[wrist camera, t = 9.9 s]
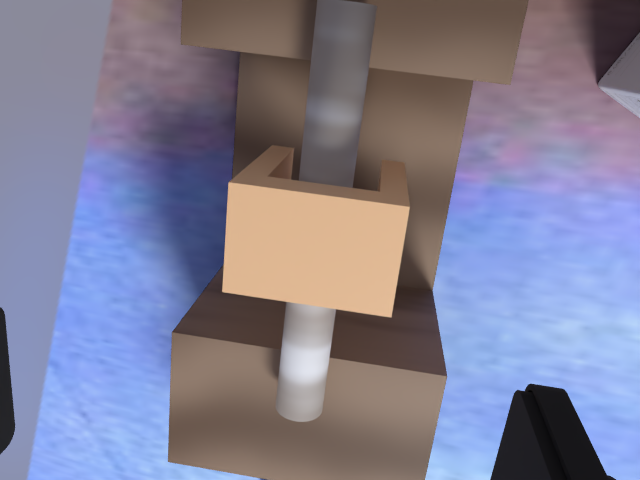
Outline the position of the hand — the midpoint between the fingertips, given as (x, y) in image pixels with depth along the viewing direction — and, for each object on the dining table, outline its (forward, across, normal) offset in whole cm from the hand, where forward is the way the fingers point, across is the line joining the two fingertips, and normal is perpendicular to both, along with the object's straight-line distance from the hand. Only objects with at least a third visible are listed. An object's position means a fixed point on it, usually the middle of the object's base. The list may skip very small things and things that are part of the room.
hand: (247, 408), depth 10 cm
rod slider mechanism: (+23, 0, +1) cm, 23 cm away
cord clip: (+17, 0, +1) cm, 17 cm away
